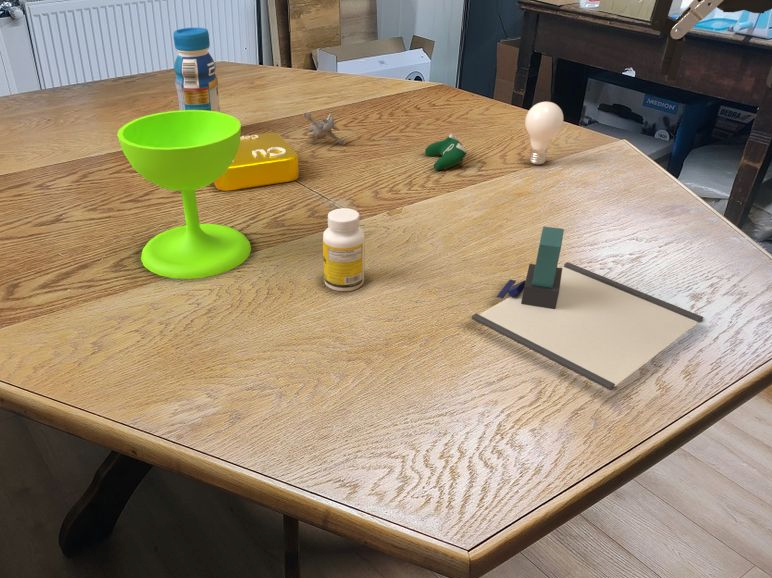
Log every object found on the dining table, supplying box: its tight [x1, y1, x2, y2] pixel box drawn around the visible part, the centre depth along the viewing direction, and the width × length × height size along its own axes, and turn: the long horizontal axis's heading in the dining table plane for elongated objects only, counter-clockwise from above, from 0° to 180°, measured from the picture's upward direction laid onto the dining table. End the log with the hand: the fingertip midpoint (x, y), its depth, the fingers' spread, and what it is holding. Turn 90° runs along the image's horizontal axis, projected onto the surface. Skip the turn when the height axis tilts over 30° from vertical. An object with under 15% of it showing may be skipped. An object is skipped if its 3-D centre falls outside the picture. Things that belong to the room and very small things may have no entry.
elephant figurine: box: [303, 111, 346, 146], centre depth 135 cm, size 10×6×9 cm
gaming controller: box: [424, 132, 468, 172], centre depth 125 cm, size 9×4×6 cm
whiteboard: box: [471, 261, 704, 391], centre depth 81 cm, size 20×18×2 cm
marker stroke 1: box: [496, 278, 516, 299], centre depth 87 cm, size 5×1×1 cm
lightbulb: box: [524, 101, 565, 166], centre depth 120 cm, size 6×6×11 cm
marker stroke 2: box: [507, 279, 526, 297], centre depth 86 cm, size 5×1×1 cm
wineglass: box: [117, 109, 252, 280], centre depth 94 cm, size 16×16×18 cm
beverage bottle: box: [172, 27, 221, 112], centre depth 136 cm, size 8×8×20 cm
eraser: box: [521, 226, 565, 309], centre depth 83 cm, size 6×4×8 cm, turn 159°
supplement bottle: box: [322, 207, 366, 292], centre depth 88 cm, size 5×5×10 cm
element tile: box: [212, 132, 300, 192], centre depth 123 cm, size 15×15×5 cm
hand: (719, 83), depth 63 cm, fingers open, 8 cm apart
